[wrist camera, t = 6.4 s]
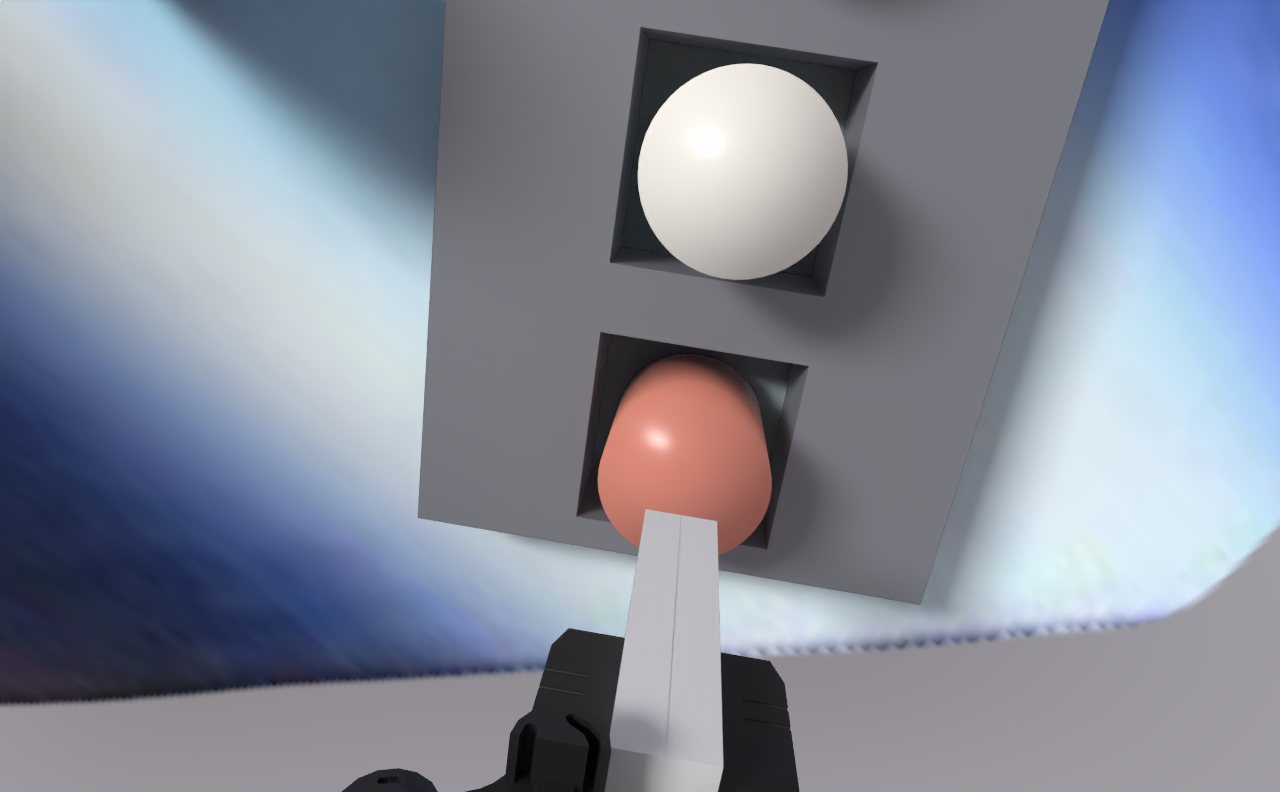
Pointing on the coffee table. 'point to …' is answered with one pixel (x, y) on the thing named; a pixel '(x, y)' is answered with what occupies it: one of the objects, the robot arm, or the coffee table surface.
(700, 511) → the red button
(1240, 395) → the coffee table surface
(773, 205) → the ivory button
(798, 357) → the tray
